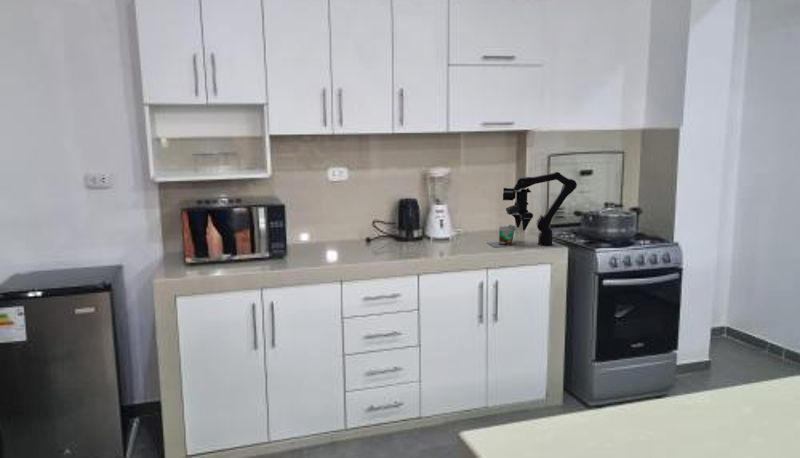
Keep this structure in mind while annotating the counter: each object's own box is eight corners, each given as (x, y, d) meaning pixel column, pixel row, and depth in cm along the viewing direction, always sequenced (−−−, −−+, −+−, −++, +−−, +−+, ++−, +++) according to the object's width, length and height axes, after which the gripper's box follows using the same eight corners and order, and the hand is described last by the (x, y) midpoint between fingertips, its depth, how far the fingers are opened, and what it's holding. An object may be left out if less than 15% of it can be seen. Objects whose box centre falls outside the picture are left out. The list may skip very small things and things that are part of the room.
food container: (508, 246, 316) (509, 228, 314) (497, 244, 319) (499, 226, 318) (518, 243, 326) (519, 226, 324) (508, 242, 329) (509, 224, 328)
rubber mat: (498, 242, 328) (498, 242, 328) (505, 247, 316) (505, 246, 316) (487, 243, 327) (487, 242, 327) (494, 247, 315) (494, 246, 315)
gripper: (501, 198, 327) (501, 226, 330) (513, 203, 309) (512, 232, 312) (520, 198, 329) (520, 225, 332) (533, 202, 311) (532, 231, 314)
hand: (521, 228), depth 322 cm, fingers open, 9 cm apart
